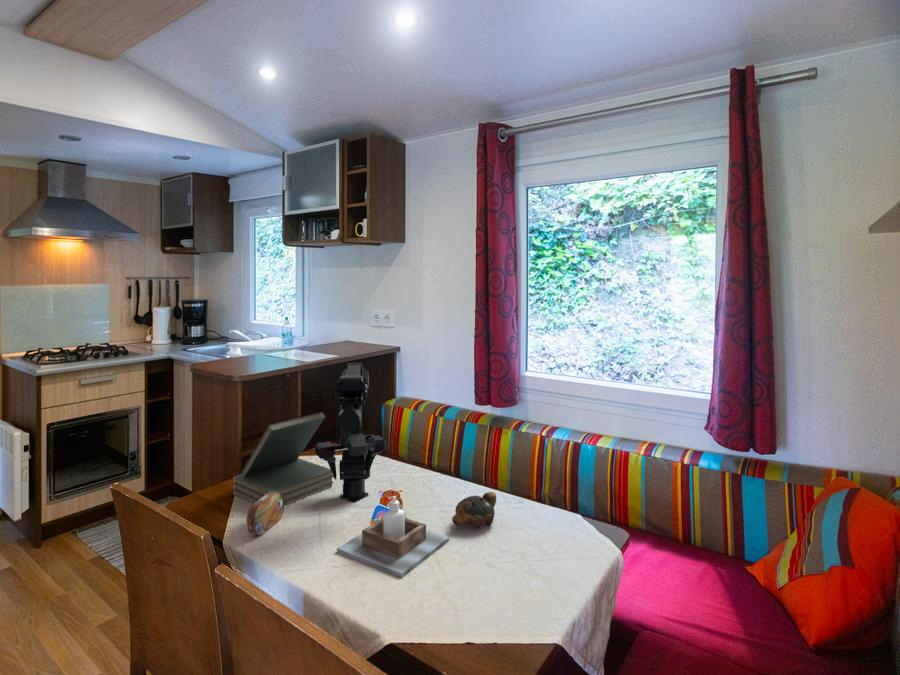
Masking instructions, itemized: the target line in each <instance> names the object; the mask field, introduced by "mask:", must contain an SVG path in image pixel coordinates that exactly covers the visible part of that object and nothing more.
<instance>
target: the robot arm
mask: <svg viewBox="0 0 900 675" xmlns="http://www.w3.org/2000/svg"><path fill="white" fill-rule="evenodd" d="M369 375H370V374H369V371H368V370H367V369H366V368H364V364H363V363H361V362H350V363H346V368H345V369H344V370H343V371H342V372H341V376H340V377H339V380H337V381H336V384H335V385H336V388H335V389H336V390H335V405H336V406H340V412H339V414H338V416H337V421H336V422H337V423H336V424H337V426H338V428H339V429H340V438H339V444H333V443H332V442H331V441H325V442H317V443H316V445H315V447H314V449H315V450H314V451H315V454H316V456H318V458H319V459H322V460H324V461H325V462H327V464H328V467H329V469H331V472H332V475H333V477H332V478H333V479H334V480H337V475H338V474H337V467H336V462H337V457H336V456H335V455H336V453H339V452H342V453H341V459H340V460H339V465H338V466H339V468H338V470H339V481H342V482H343V484H342V493H341V494H340V495H339V498H341V499H344V500H347V501H350V502H353V503H356V502H357V501H360V500H361V499H364V498H366V497H368V496H369V493H368V492H366V491H365V490H366V489H365V488H366V486H365V482H366V480H368V479H369V478H371V468H372V465H373V462H374V460H375V459H376V456H377V455H378V454H381V453H382V451H385V450H387V442H386V440H385V439H384V438H383V437H381V435H380V434H379V435H374V434H365V433H364V428H363V426H362V424H363V422H362V420H363V418H362V412H363V411H362V406H364V405H365V401H368V389H369V386H370V383H369V382H370V378H369V377H370V376H369Z"/></svg>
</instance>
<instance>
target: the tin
mask: <svg viewBox="0 0 900 675" xmlns="http://www.w3.org/2000/svg"><path fill="white" fill-rule="evenodd" d="M284 510H285V507H284V497H283V494H282V493H281V492H279V491H277V492H269V493H267V494H266V495H264V496H263V497H262V498H260V499H259V500H258V501H257V502H255V503H252V505H251V506H250V507H249V509H248V511H247V515H246V526H247V532H248V533H249V534H251V535H254V536H256V535H257V536H264V535H265V534H266V533H267V532H268V531H269V530H270V529H271V528H273V527H274V526H275V525H276V524H277V523H279V522H280V521H281V519H282V518H283V514H284ZM273 525H274V526H273ZM272 526H273V527H272ZM266 531H267V532H266ZM265 532H266V533H265ZM264 533H265V534H264ZM263 534H264V535H263Z"/></svg>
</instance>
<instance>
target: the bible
mask: <svg viewBox="0 0 900 675" xmlns="http://www.w3.org/2000/svg"><path fill="white" fill-rule="evenodd" d="M325 418H326V416H325V414H324V413H323V412H322V411H321V412H317V413H313V414H309V415H306V416H305V415H304V416H301V417H298V418H293V419H289V420H285V421H281V422H277V423H273V424H269V425H268V426H267V428H266V430H265V431H264V433H263V434H262V436H261V437H260V439H259V441H258V443H257V445H256V447H255V448H254V450H253V451H252V453H251V455H250V456H249V458H248V460H247V462H246V463H245V465H244V466H243V469H241V474H237V475H235V476H233V477H232V481H233V484H232V486H233V495H234V496H236V497H237V498H240V497H241V499H243V500H245V501H247V502H249V501H250V502H249V503H251V502H252V504H254V503H255V502H257V501H258V500H259V499H260V498H262V497H263V496H264V495H266V494H267V493H269V492H277V491H279V492H281V493H282V494H283V497H284V506H286V505H288V506H290V505H292V504H291V503H293V504H295V503H297V502H296V501H298V500H300V501H302V500H301V499H303V500H305V499H307V498H306V497H308V496H310V497H312V496H311V495H313V496H314V494H315V495H317V494H316V493H318V494H320V493H322V491H323V492H325V491H327V490H326V489H328V490H329V488H330V489H332V488H333V484H334V481H333V478H334V477H333V474H332V472H331V469H330V468H328V467H325V466H323V465H319V464H317V463H314V462H311V461H308V460H305V459H302V458H300V457H301V454H302V453H303V451H304V450H305V448H306V446H307V445H308V443H309V442H310V441H311V440H312V438H313V436H314V434H315V433H316V431H317V430H318V429H319V427H320V425H321V424H322V422H323V421H324V419H325ZM331 487H332V488H331ZM324 490H325V491H324ZM319 492H320V493H319ZM304 498H305V499H304ZM308 498H309V497H308ZM294 502H295V503H294ZM298 502H299V501H298ZM289 504H290V505H289ZM286 507H287V506H286Z"/></svg>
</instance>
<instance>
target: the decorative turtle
mask: <svg viewBox="0 0 900 675" xmlns="http://www.w3.org/2000/svg"><path fill="white" fill-rule="evenodd" d="M496 503H497V495H496V493H495V492H492V491H487V492H485V493H483V495H482V496H480V495H471V496H467V497H464V498H463V499H462V500H461V501H459V502H458V503H457V504H456V507H455V511H454V512H455V514H454V515H453V516H452V518H451V520H452V522H453V524H454V525H455V526H456V527H461V526H464V525H465V524H468V523H471V524H472V526H473V527H474V528H475V529H476V530H480V529H481V528H482V527H483V526H484V525H485V524H486V525H487V526H491V525H492V524H493V523H494V518H495V514H496V512H495V506H496Z"/></svg>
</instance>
